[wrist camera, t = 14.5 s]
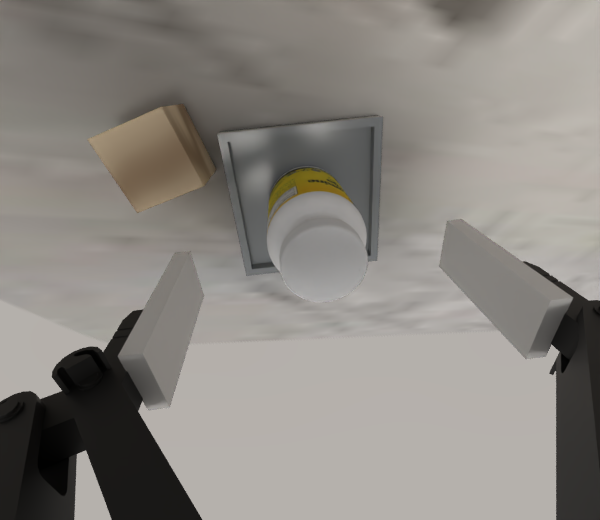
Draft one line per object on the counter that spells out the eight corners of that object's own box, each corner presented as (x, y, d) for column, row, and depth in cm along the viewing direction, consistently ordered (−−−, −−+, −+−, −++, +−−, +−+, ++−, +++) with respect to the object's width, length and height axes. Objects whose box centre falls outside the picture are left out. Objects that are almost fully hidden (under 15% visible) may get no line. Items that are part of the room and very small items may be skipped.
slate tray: (220, 131, 23) (217, 134, 22) (376, 115, 23) (382, 116, 22) (247, 267, 29) (246, 275, 27) (372, 253, 29) (377, 260, 28)
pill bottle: (356, 198, 26) (407, 261, 16) (307, 248, 28) (325, 331, 18) (303, 146, 23) (324, 184, 14) (253, 205, 25) (241, 274, 16)
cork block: (123, 130, 22) (87, 139, 18) (183, 103, 22) (161, 106, 18) (161, 192, 25) (137, 213, 21) (216, 169, 24) (204, 186, 20)
